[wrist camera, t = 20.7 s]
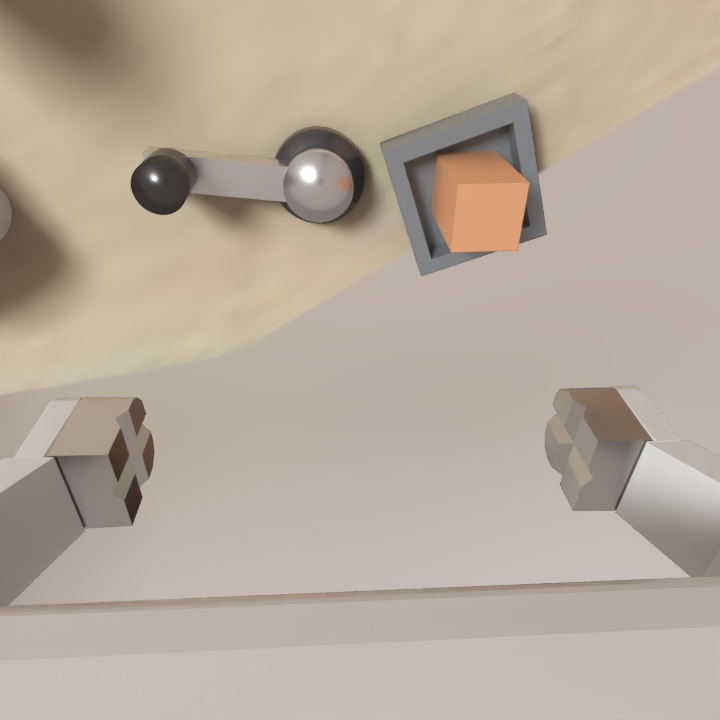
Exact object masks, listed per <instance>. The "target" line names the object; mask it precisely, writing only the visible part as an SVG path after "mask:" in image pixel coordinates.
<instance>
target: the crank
mask: <svg viewBox="0 0 720 720" xmlns="http://www.w3.org/2000/svg"><path fill="white" fill-rule="evenodd" d="M143 155H144V161H143V162H142V163H141V164H140V165H139V166H138V167H137V168H136V169H135V171H134V172H133V175H132V178H131V189H132V192H133V195H134V197H135V199H136V200H137V201H138V203H139V204H140V205H141V206H142V207H144V208H145V209H146V210H148V211H150V212H152V213H155V214H160V215H168V214H172V213H174V212H176V211H177V210H179V209H180V208H181V207H182V205H183V204H184V202H185V200H186V199H187V197H188V196H189V194H190V193H194V194H205V195H215V196H226V197H237V198H248V199H259V200H270V201H281V202H287V204H288V205H289V207H290V208H291V210H292V211H293V212H294V213H295V214H297V215H298V216H299V217H301V218H303V219H305V220H307V221H310V222H316V223H322V222H328V221H331V220H334V219H336V218H337V217H339V216H340V215H342V214H343V213H344V212H345V210H346V209H347V208H348V206H349V205H350V202H351V200H352V197H353V190H354V186H353V178H352V173H351V169H350V166H349V164H348V163H347V161H346V160H345V158H344V157H343V156H342V155H341V154H340V153H339V152H337V151H336V150H334V149H332V148H330V147H327V146H322V145H313V146H308V147H305V148H303V149H301V150H299V151H298V152H297V153H296V154H295V155H294V156H293V157H292V158H291V159H290V160H282V159H272V158H263V157H253V156H243V155H233V154H223V153H213V152H203V151H193V150H183V149H173V148H163V147H153V146H149V147H148V148H147V149H146V150H145V151H144V152H143Z"/></svg>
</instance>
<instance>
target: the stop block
mask: <svg viewBox="0 0 720 720" xmlns="http://www.w3.org/2000/svg"><path fill="white" fill-rule="evenodd" d="M528 189H529V182H528V181H527V180H526V179H525V178H524V177H523V176H522V175H521V174H520V173H519V172H518V171H517V170H516V169H514V168H513V167H512V166H511V165H510V164H509V163H508V162H507V161H506V160H505V159H504V158H503V157H502V156H501V155H500V154H499V153H498V152H497V151H456V152H436V158H435V171H434V184H433V197H432V210H431V212H432V214H433V216H434V218H435V220H436V222H437V224H438V226H439V228H440V230H441V232H442V235H443V237H444V239H445V241H446V243H447V245H448V247H449V249H450V251H451V252H482V251H517V250H518V245H519V240H520V234H521V228H522V223H523V217H524V211H525V206H526V200H527V195H528Z"/></svg>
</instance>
